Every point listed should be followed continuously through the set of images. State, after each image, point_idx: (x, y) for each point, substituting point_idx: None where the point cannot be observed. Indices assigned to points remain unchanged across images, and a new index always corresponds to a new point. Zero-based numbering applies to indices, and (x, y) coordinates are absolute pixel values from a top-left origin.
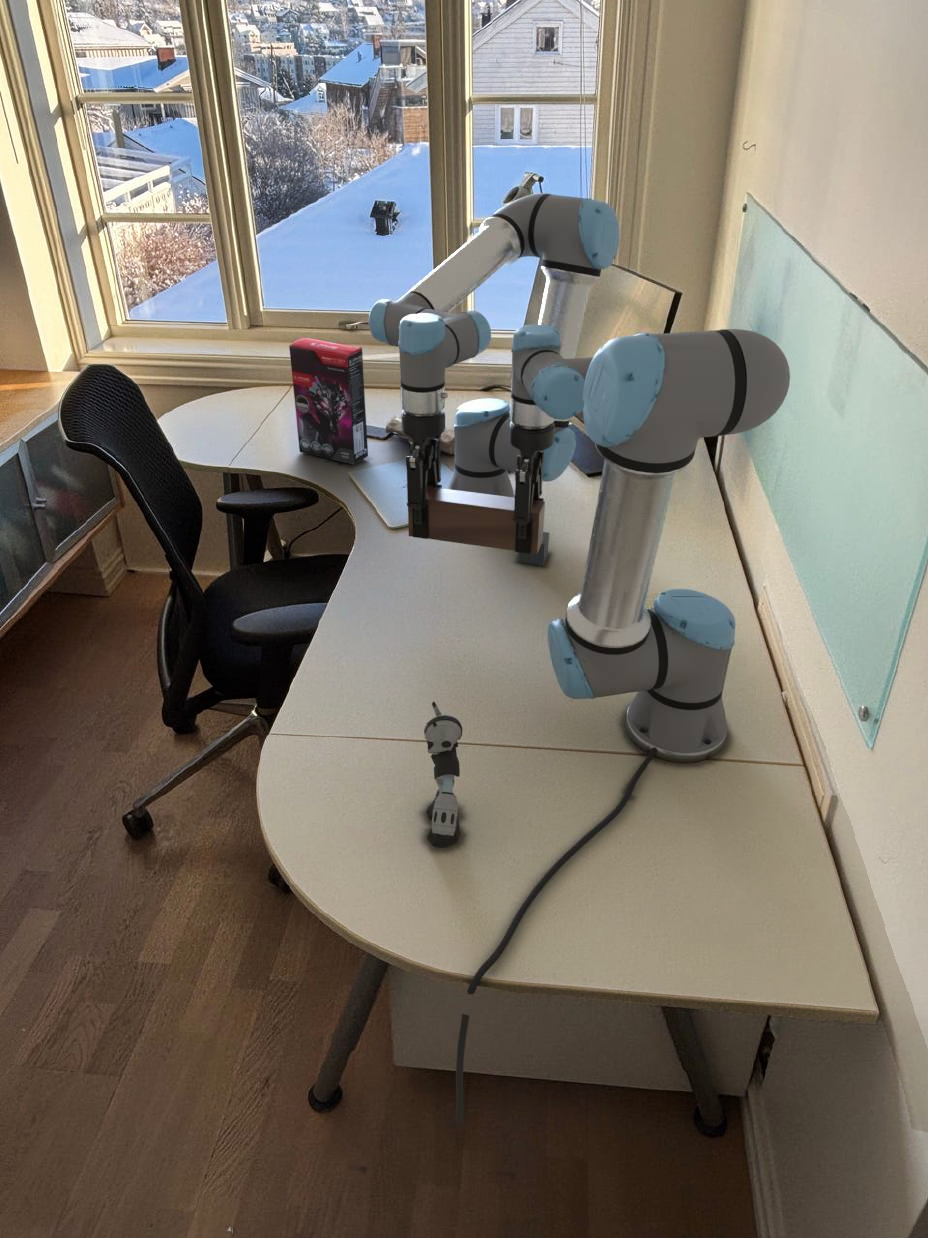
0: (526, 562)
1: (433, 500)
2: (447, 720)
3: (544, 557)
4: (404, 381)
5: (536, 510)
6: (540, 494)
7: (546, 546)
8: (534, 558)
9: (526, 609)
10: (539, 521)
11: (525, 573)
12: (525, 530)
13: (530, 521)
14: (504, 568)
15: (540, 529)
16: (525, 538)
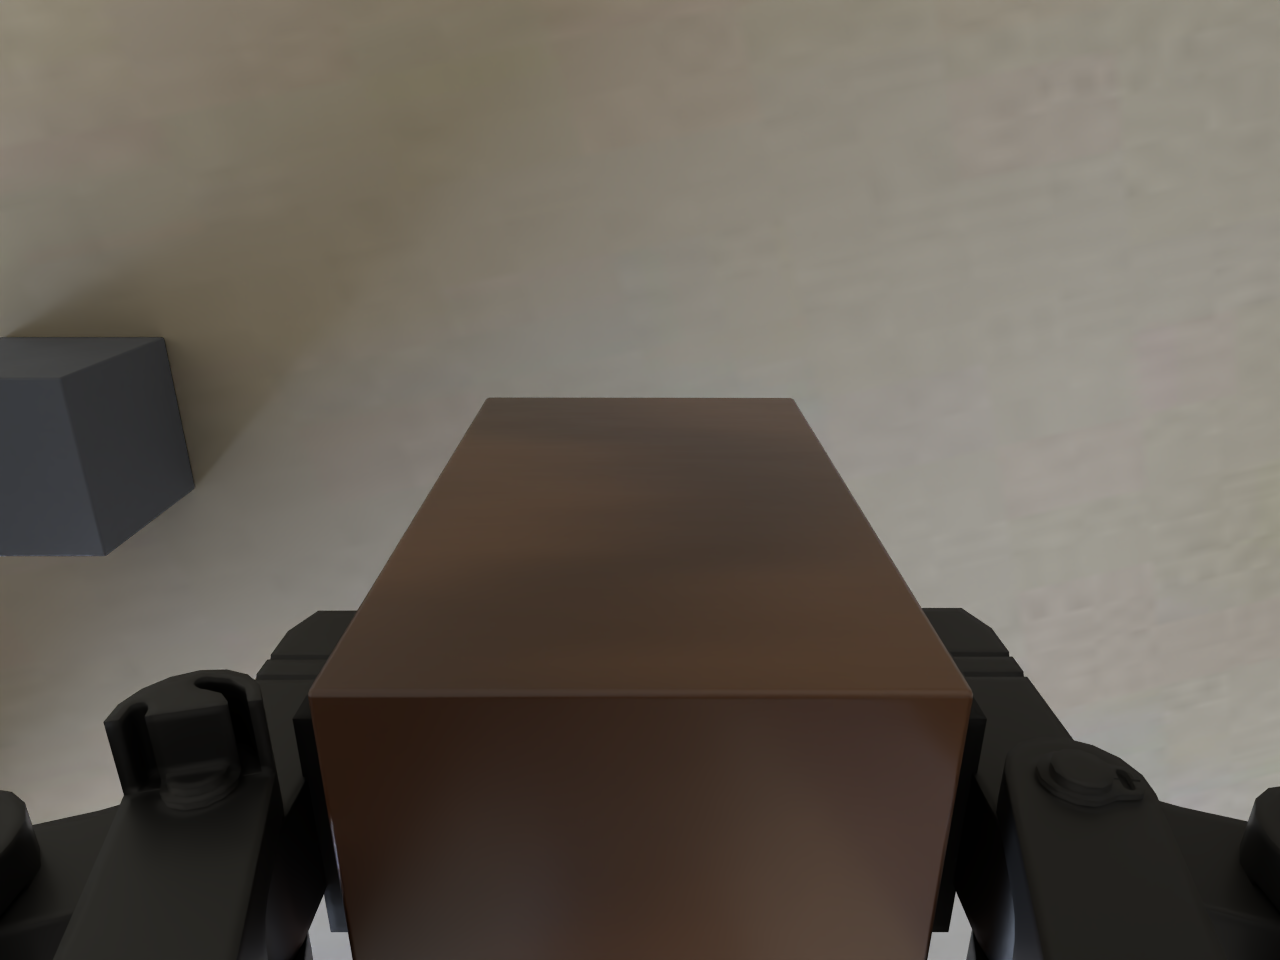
0: (182, 446)
1: None
2: None
3: (107, 347)
4: None
5: (823, 774)
6: (10, 826)
7: (13, 360)
8: (152, 408)
9: (699, 333)
10: (859, 582)
11: (300, 424)
12: (1036, 701)
13: (983, 730)
14: (297, 550)
15: (686, 487)
16: (971, 621)
